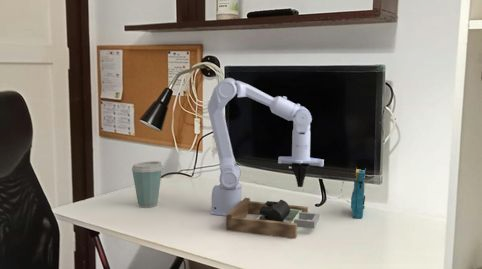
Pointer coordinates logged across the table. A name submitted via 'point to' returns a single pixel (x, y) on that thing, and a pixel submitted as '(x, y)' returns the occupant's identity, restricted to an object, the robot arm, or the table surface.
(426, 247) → the table surface
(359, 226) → the table surface
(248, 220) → the brown wooden frame
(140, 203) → the disposable coffee cup
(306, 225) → the pull tray
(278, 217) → the end cap
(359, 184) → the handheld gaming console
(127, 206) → the table surface
